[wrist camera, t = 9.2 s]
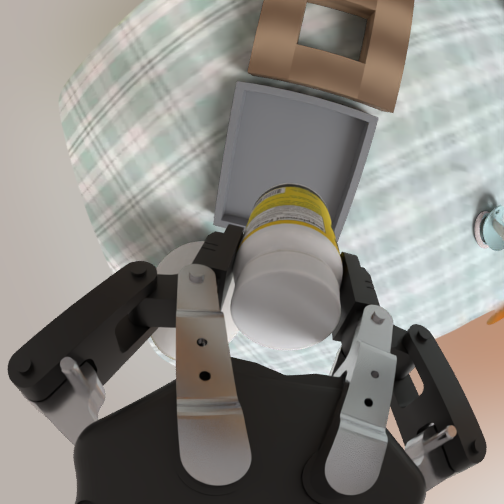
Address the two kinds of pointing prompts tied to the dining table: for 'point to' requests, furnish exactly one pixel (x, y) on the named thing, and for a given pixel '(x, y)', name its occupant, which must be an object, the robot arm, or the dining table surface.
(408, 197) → the dining table surface
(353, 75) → the walnut holder
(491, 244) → the pacifier
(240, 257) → the supplement bottle
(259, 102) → the charcoal tray
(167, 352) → the decorative egg
